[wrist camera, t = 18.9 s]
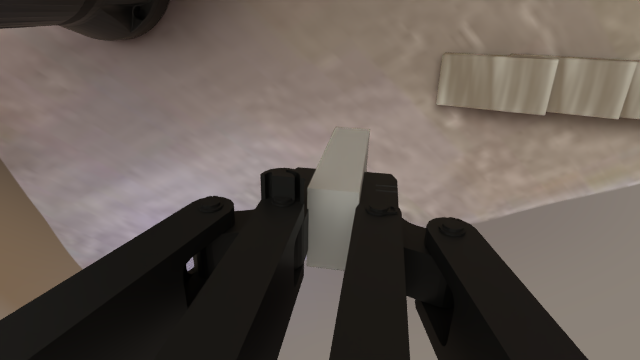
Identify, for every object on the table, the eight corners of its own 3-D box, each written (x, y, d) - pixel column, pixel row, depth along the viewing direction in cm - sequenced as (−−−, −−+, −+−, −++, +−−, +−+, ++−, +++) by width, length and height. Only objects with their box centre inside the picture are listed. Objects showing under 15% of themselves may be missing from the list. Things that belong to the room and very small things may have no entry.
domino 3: (560, 111, 38) (689, 124, 34) (574, 58, 36) (712, 66, 32) (558, 107, 40) (682, 120, 36) (572, 57, 38) (705, 64, 34)
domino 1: (435, 104, 40) (545, 115, 36) (442, 53, 38) (558, 59, 34) (438, 101, 41) (543, 111, 38) (445, 52, 39) (557, 58, 36)
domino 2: (499, 106, 39) (618, 119, 35) (510, 55, 37) (637, 62, 33) (500, 103, 40) (615, 115, 37) (510, 53, 38) (633, 60, 35)
